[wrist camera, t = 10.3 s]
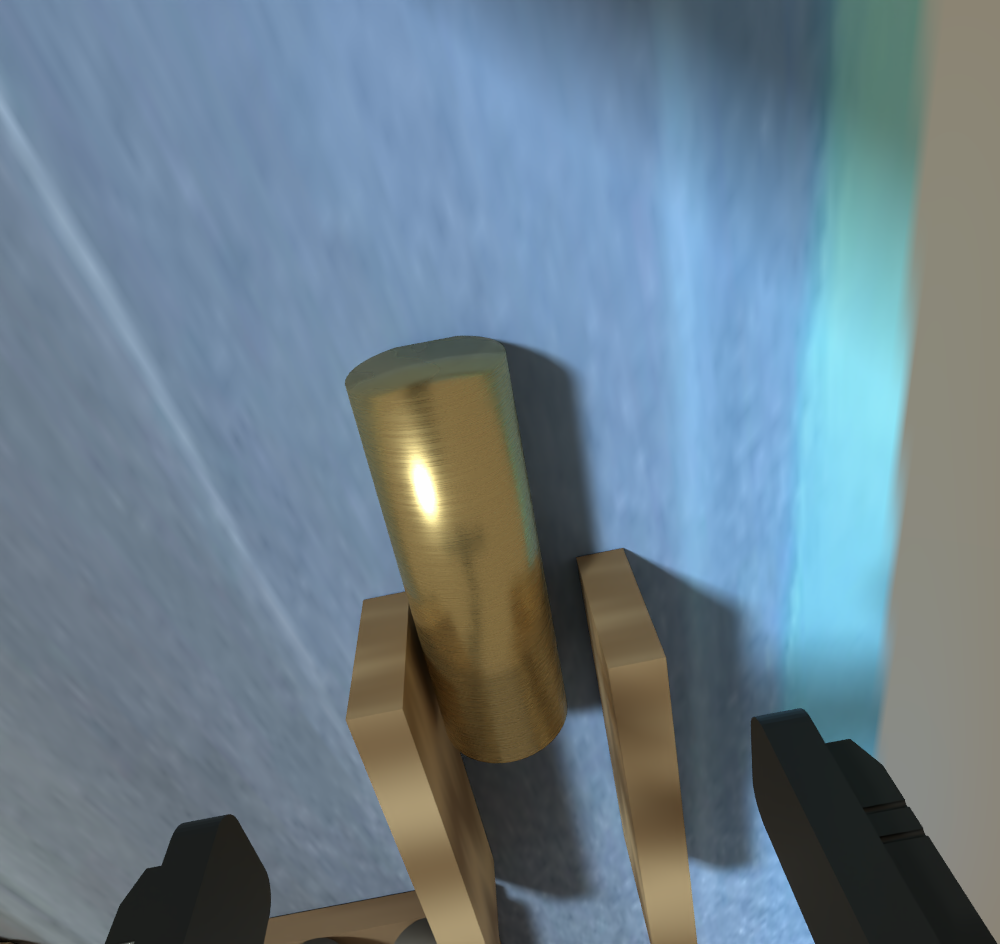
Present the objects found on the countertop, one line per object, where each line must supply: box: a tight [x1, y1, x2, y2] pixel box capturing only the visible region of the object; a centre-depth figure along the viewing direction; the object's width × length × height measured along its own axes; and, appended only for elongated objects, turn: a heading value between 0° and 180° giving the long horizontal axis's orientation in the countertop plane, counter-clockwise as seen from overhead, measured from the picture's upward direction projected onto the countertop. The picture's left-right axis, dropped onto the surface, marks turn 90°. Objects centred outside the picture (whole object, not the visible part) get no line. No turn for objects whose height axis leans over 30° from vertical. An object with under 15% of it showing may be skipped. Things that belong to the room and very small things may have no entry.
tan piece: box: [346, 548, 697, 944], centre depth 24 cm, size 14×8×5 cm, turn 11°
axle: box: [345, 336, 567, 763], centre depth 21 cm, size 12×4×4 cm, turn 10°
